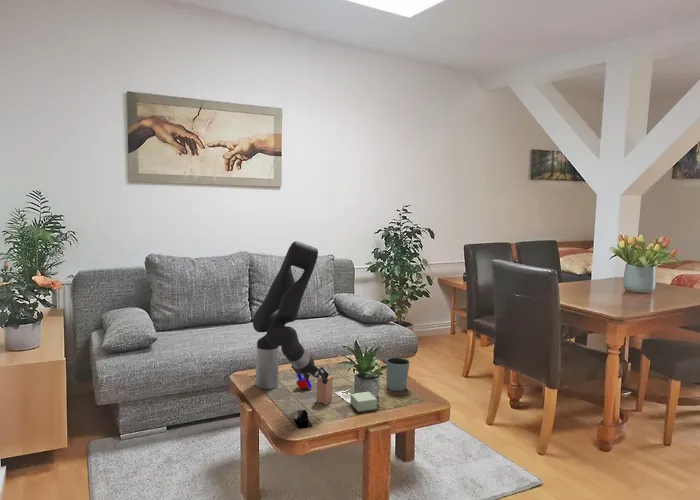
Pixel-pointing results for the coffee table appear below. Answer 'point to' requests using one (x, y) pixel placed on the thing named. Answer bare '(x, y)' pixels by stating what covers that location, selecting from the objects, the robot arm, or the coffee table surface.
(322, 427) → the coffee table surface
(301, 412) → the black piece
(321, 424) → the coffee table surface
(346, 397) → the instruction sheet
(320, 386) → the terracotta brick
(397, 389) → the blue-grey cup
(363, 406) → the base brick
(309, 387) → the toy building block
